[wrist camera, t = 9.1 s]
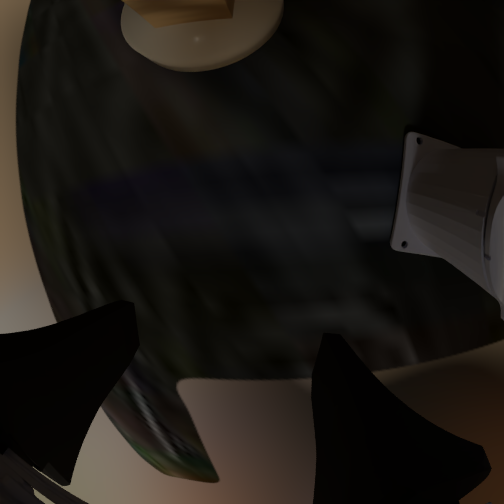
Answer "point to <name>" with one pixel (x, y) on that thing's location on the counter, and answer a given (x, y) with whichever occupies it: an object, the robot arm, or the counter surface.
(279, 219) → the counter surface
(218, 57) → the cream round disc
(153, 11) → the oak cube
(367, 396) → the robot arm
